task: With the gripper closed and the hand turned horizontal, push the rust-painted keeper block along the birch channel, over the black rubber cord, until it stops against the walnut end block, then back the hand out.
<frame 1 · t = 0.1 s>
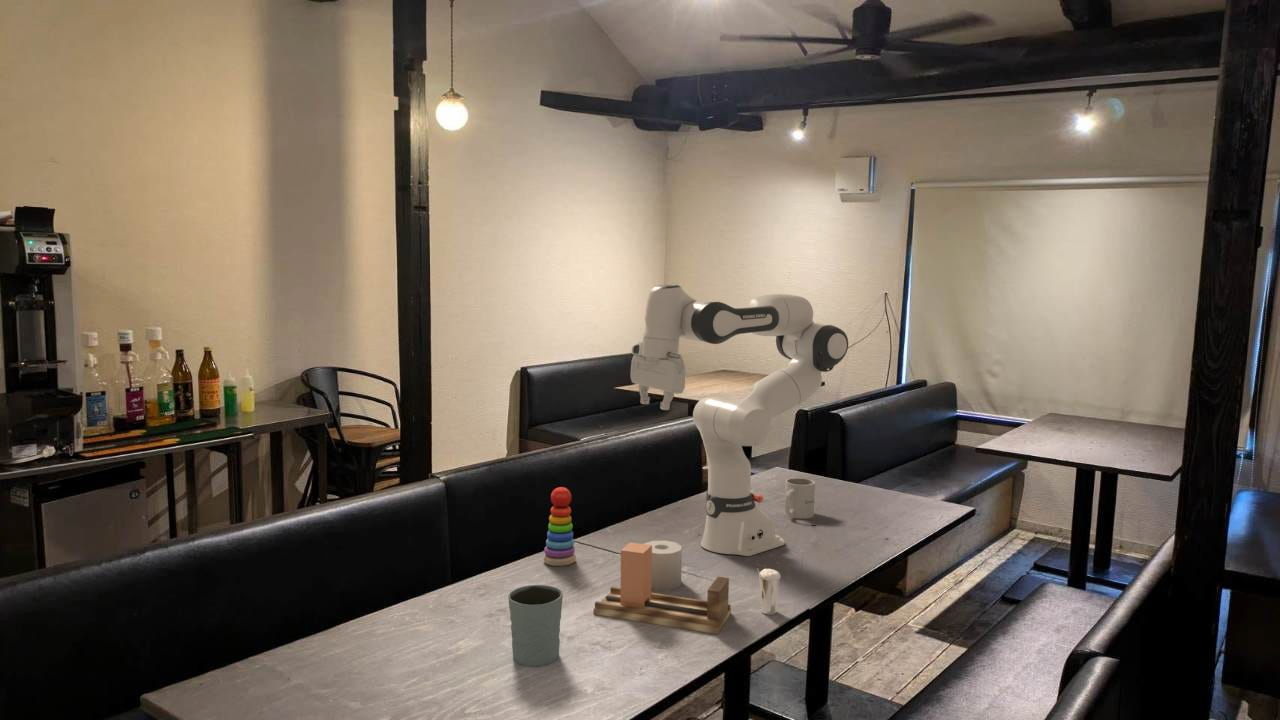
hand: (654, 406, 205), 39 cm above the table, tool pointing down, fingers open, 8 cm apart
stacking toy: (559, 562, 208), on the table
green cup: (535, 656, 158), on the table
milkshake: (767, 613, 179), on the table
mug: (795, 516, 249), on the table
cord: (658, 605, 177), in the channel, point 1 cm above the table
keeper: (636, 575, 178), point 8 cm above the table, slide at 0.0 cm
toilet tissue: (655, 583, 195), on the table
channel: (662, 613, 177), on the table
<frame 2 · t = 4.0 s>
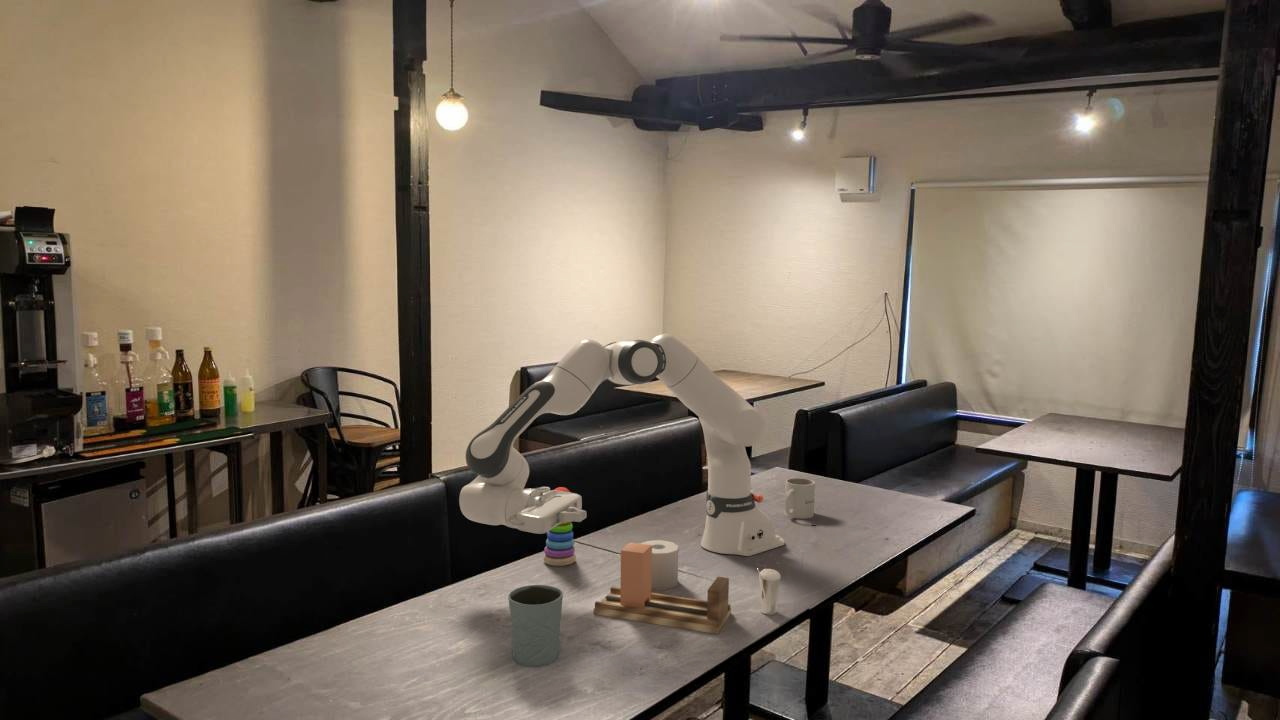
hand: (584, 516, 181), 19 cm above the table, tool horizontal, fingers closed
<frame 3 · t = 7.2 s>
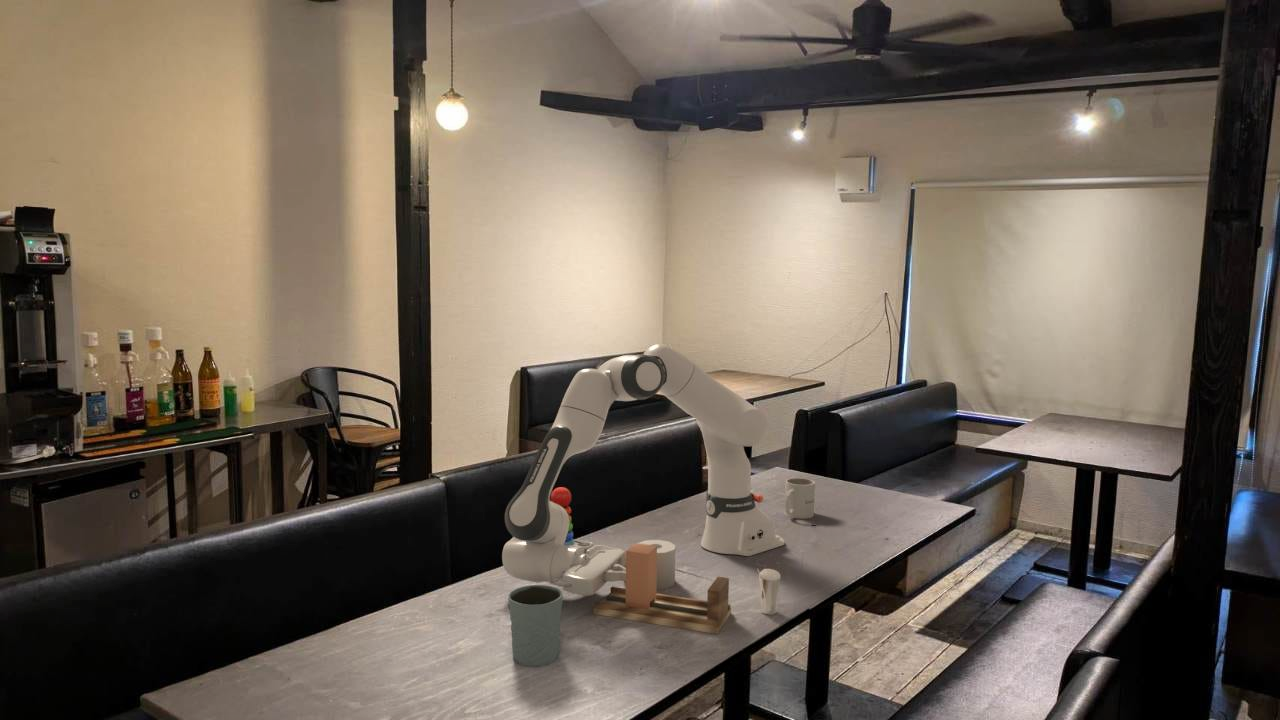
hand: (630, 575, 179), 7 cm above the table, tool horizontal, fingers closed, pressing on keeper
keeper: (641, 575, 178), point 8 cm above the table, slide at 1.2 cm, touching gripper
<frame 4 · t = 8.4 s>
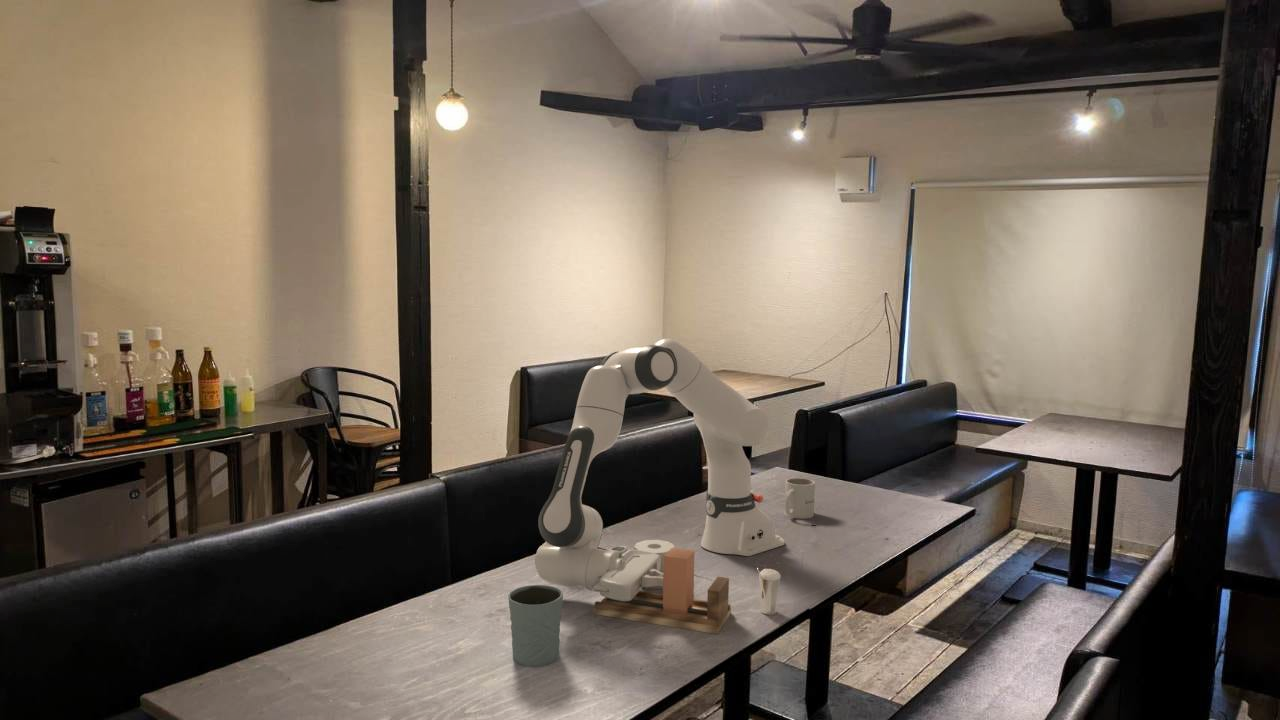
hand: (667, 580, 176), 7 cm above the table, tool horizontal, fingers closed, pressing on keeper
keeper: (678, 581, 175), point 8 cm above the table, slide at 9.5 cm, touching gripper
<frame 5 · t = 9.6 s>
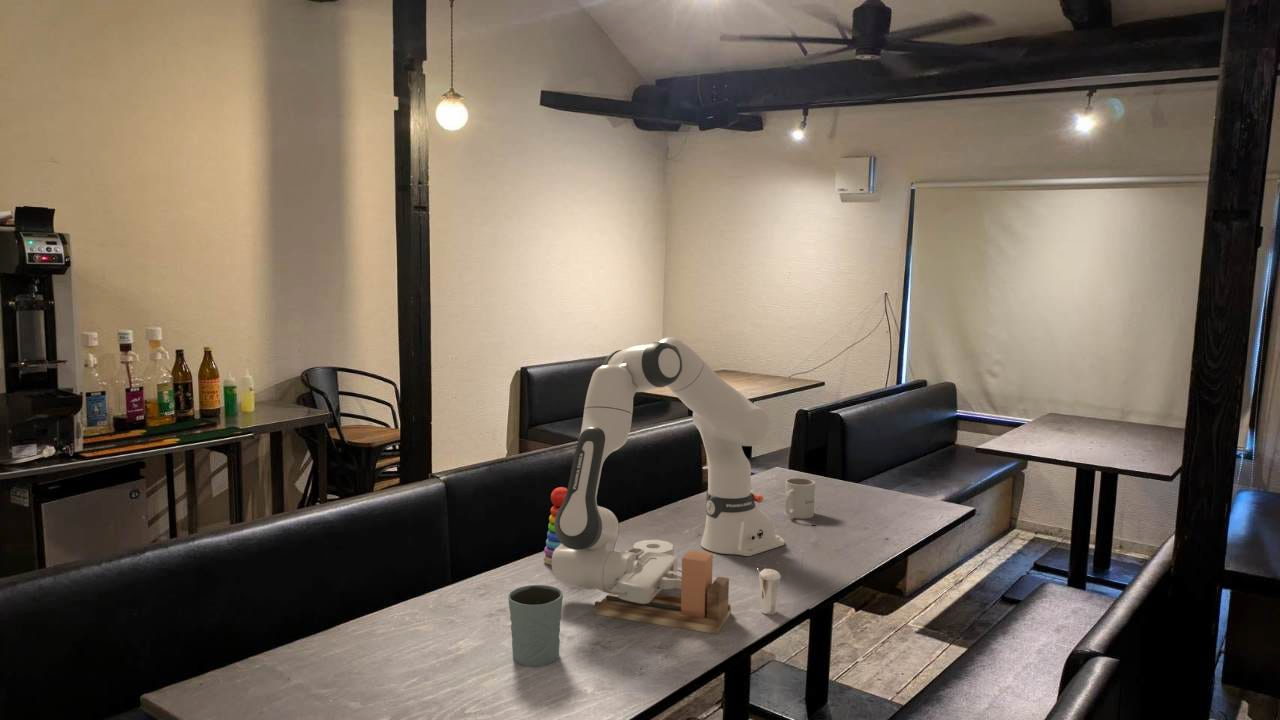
hand: (685, 582, 175), 7 cm above the table, tool horizontal, fingers closed, pressing on keeper
keeper: (696, 583, 174), point 8 cm above the table, slide at 13.4 cm, touching gripper
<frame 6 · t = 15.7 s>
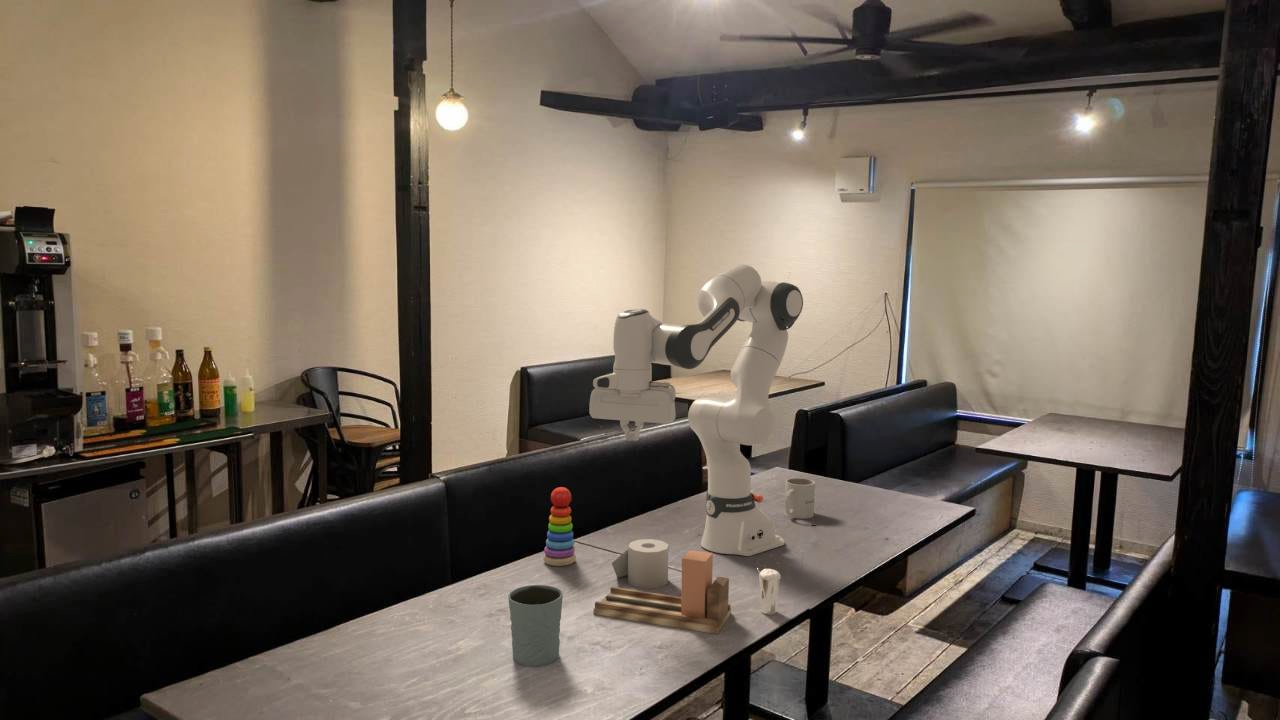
hand: (631, 439, 194), 33 cm above the table, tool pointing down, fingers closed
keeper: (696, 583, 174), point 8 cm above the table, slide at 13.4 cm
toilet tissue: (642, 581, 196), on the table
everything else where it was.
at the end: keeper slide at 13.4 cm; the gripper is holding nothing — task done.
